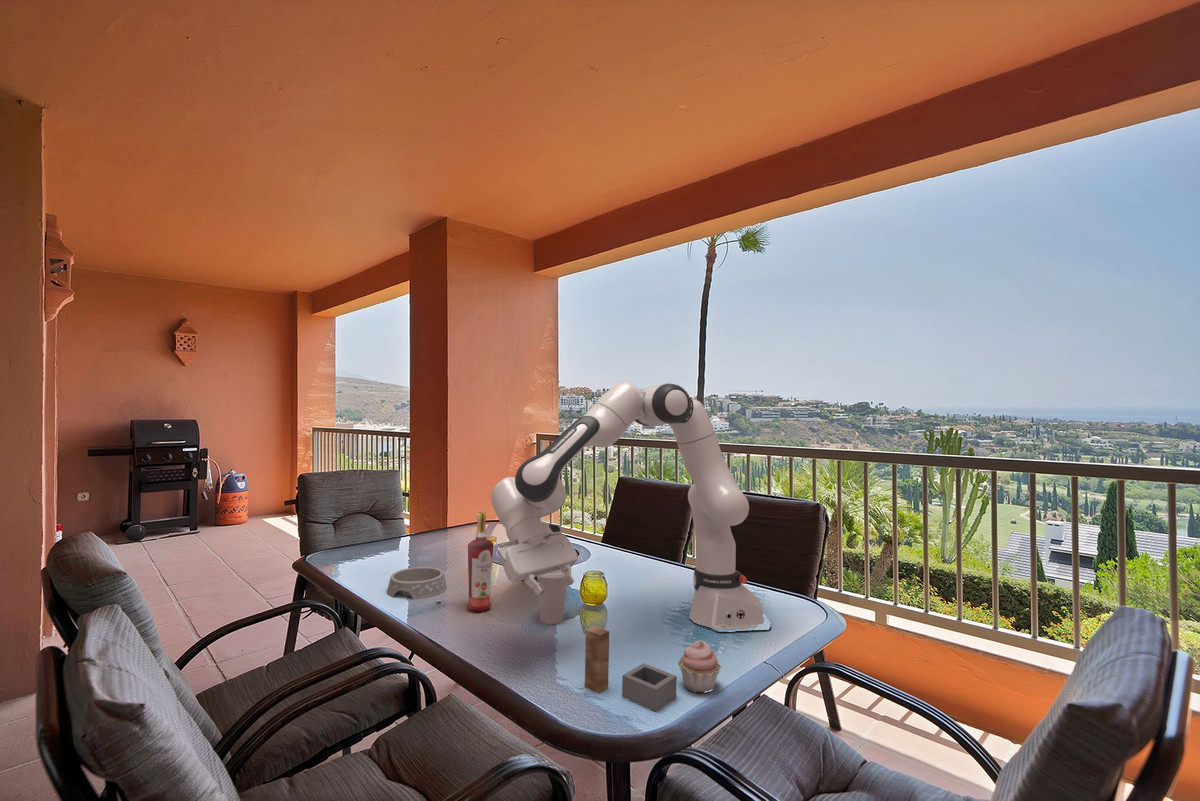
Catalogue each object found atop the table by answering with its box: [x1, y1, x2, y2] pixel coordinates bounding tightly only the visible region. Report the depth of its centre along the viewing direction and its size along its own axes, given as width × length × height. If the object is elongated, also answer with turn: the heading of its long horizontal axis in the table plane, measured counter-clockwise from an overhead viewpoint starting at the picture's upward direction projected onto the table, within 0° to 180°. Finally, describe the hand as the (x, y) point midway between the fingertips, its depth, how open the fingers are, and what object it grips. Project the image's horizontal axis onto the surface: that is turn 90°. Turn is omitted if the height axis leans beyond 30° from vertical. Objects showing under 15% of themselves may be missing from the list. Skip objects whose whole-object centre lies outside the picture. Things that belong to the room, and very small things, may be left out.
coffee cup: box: [536, 570, 568, 625], centre depth 151 cm, size 10×10×15 cm
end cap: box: [621, 662, 678, 713], centre depth 111 cm, size 8×7×4 cm
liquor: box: [467, 511, 494, 613], centre depth 158 cm, size 7×7×28 cm
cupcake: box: [677, 639, 722, 693], centre depth 116 cm, size 9×9×10 cm
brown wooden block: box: [584, 625, 610, 694], centre depth 115 cm, size 4×3×12 cm
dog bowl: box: [386, 566, 447, 600], centre depth 174 cm, size 17×18×5 cm
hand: (556, 588), depth 124 cm, fingers open, 8 cm apart
